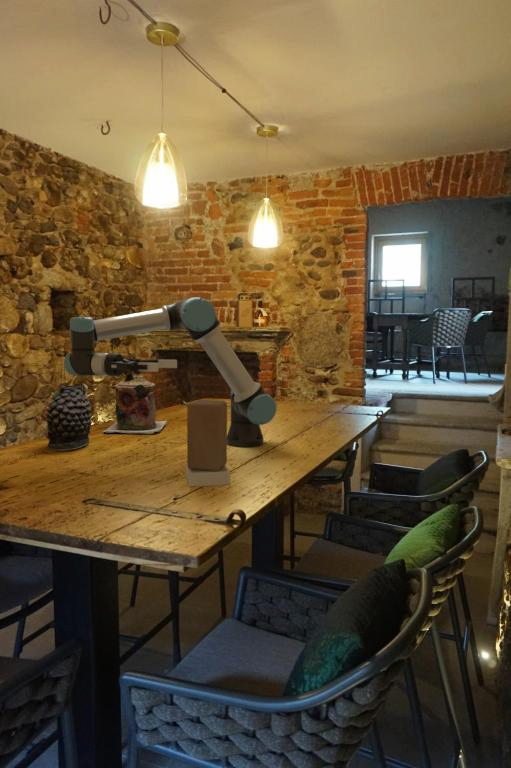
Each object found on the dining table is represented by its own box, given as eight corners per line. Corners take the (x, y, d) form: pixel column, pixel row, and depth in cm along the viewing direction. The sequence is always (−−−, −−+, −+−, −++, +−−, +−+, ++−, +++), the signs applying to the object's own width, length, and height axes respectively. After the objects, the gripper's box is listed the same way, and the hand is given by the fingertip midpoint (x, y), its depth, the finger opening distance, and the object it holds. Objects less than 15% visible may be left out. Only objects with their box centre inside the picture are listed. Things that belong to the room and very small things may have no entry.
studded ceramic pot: (67, 440, 225) (65, 379, 222) (101, 442, 221) (100, 380, 219) (36, 451, 204) (34, 384, 202) (73, 454, 201) (71, 386, 198)
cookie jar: (116, 424, 263) (115, 357, 260) (168, 425, 263) (167, 358, 259) (100, 434, 239) (99, 360, 235) (157, 435, 238) (156, 361, 235)
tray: (223, 474, 176) (223, 461, 176) (230, 484, 165) (230, 471, 164) (185, 475, 174) (185, 463, 173) (189, 486, 162) (189, 473, 162)
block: (218, 472, 163) (218, 405, 161) (186, 469, 165) (186, 403, 163) (227, 464, 172) (227, 400, 170) (197, 462, 175) (197, 399, 173)
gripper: (128, 372, 195) (183, 373, 188) (87, 379, 171) (149, 381, 165) (127, 351, 194) (183, 351, 188) (86, 355, 170) (148, 356, 164)
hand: (167, 365), depth 176 cm, fingers open, 13 cm apart
